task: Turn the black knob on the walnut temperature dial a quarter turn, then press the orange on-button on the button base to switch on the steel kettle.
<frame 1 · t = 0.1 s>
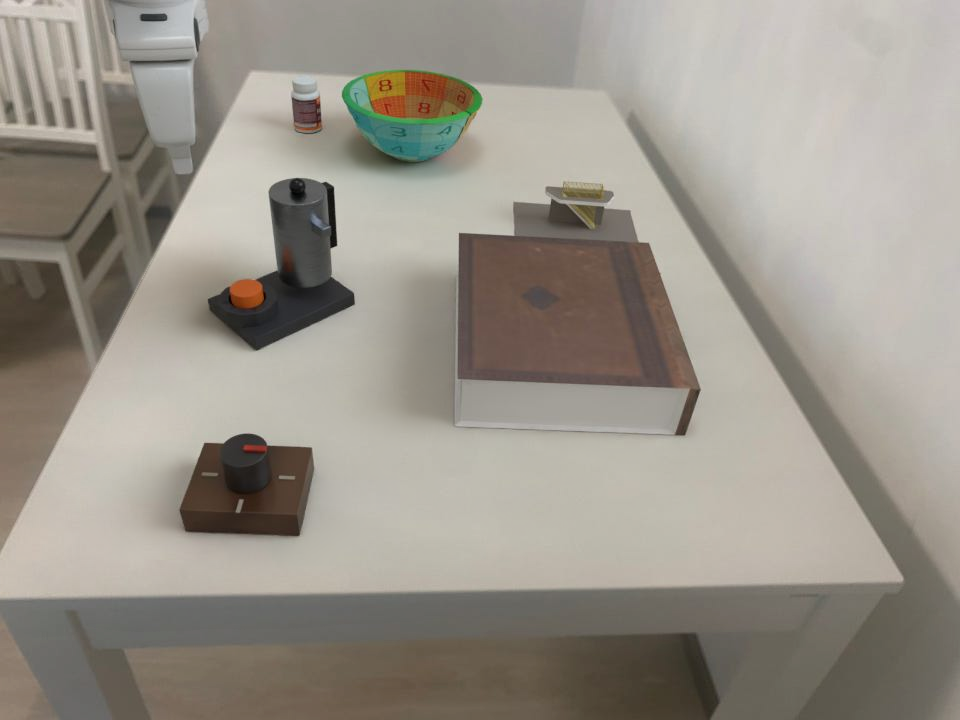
hand: (183, 150, 80), 20 cm above the table, tool pointing down, fingers open, 8 cm apart
button base: (283, 307, 93), on the table
kettle: (305, 273, 93), resting on button base
book: (557, 348, 91), on the table
orange button: (246, 294, 88), point 4 cm above the table, slide at 0.1 cm
platform: (574, 226, 114), on the table
pill bottle: (308, 129, 133), on the table
bowl: (411, 153, 129), on the table
dial panel: (252, 498, 71), on the table
dial knob: (245, 462, 68), point 5 cm above the table, hinge at 0.0°
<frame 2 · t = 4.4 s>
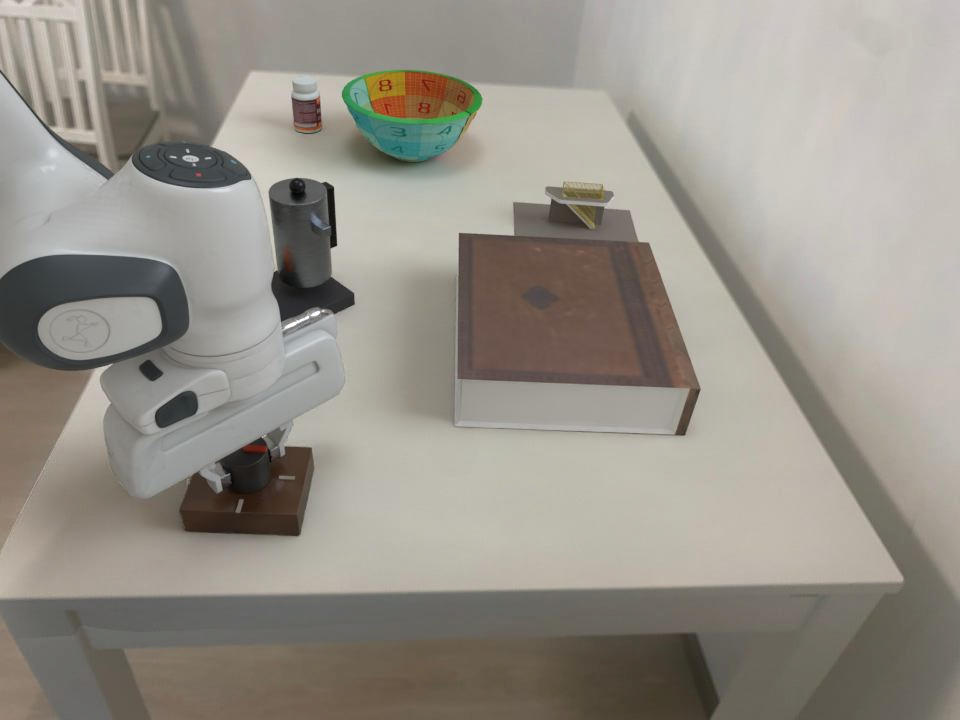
hand: (247, 470, 68), 4 cm above the table, tool pointing down, fingers closed on dial knob, 4 cm apart
dial knob: (245, 462, 68), point 5 cm above the table, hinge at 0.0°, touching gripper
everything else where it was.
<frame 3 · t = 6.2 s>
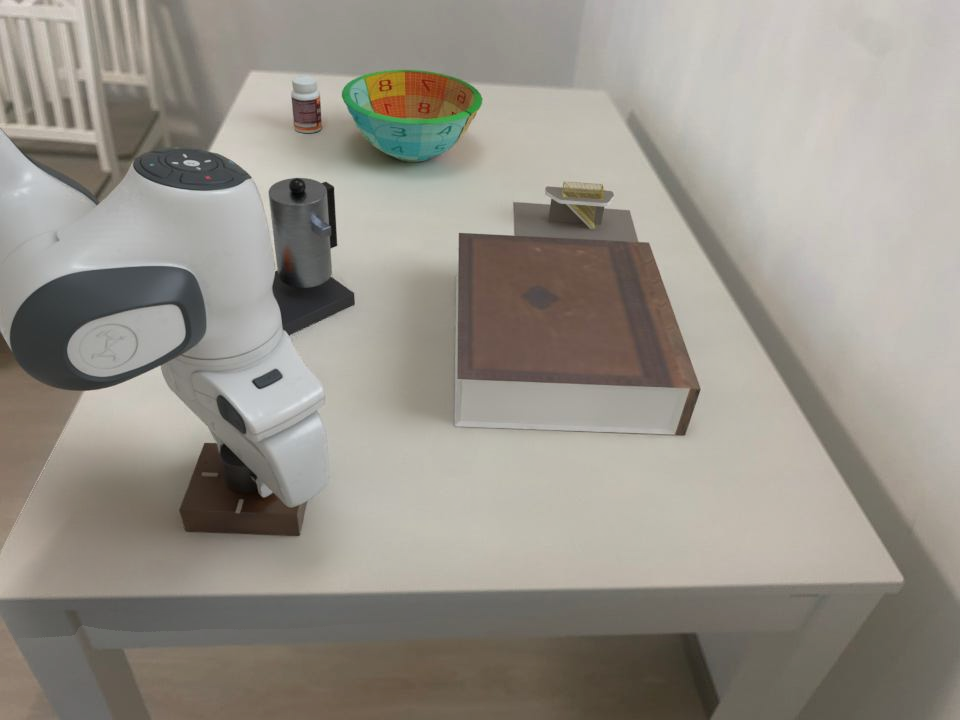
hand: (249, 472, 68), 4 cm above the table, tool pointing down, fingers closed on dial knob, 4 cm apart
dial knob: (245, 462, 68), point 5 cm above the table, hinge at 85.8°, touching gripper
everything else where it was.
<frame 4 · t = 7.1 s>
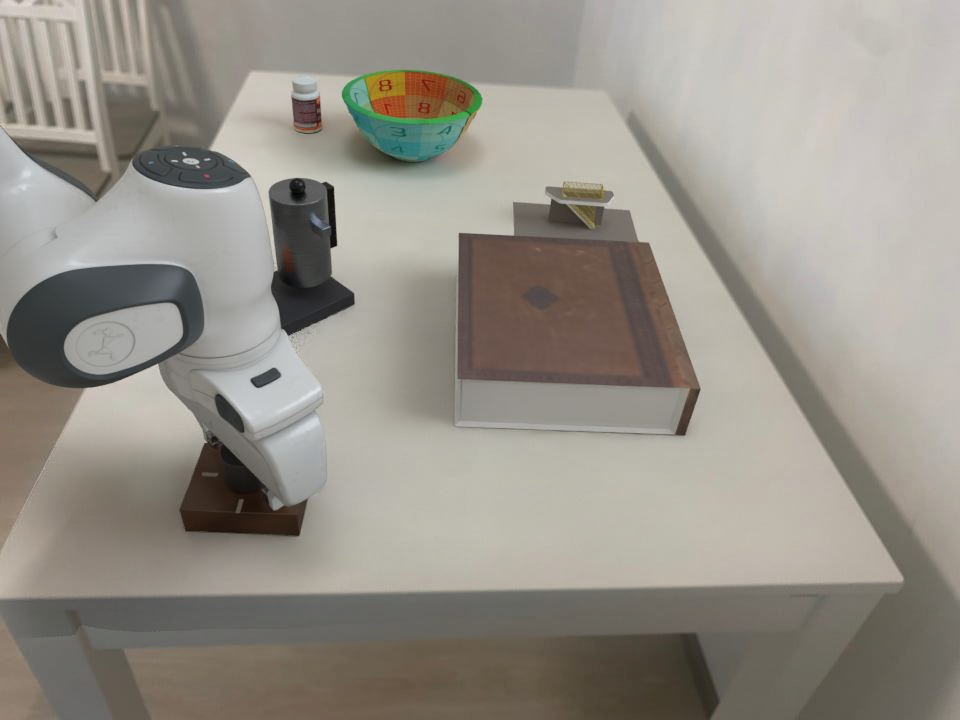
hand: (246, 471, 68), 4 cm above the table, tool pointing down, fingers open, 8 cm apart
dial knob: (245, 462, 68), point 5 cm above the table, hinge at 85.8°
everything else where it was.
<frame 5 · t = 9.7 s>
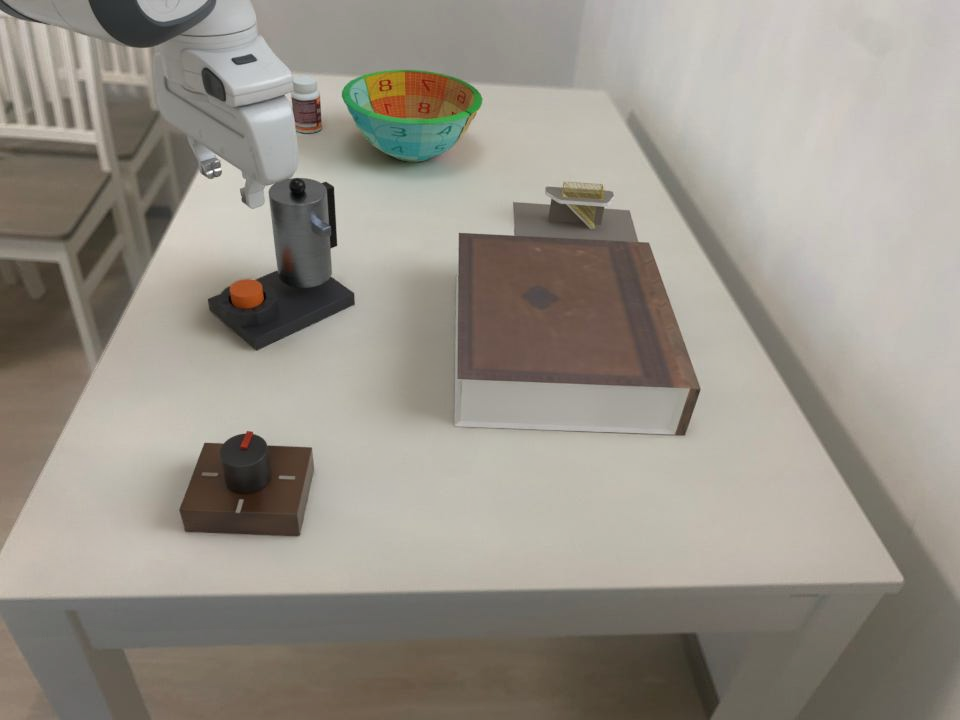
hand: (232, 189, 80), 17 cm above the table, tool pointing down, fingers open, 7 cm apart
nothing on the table moved.
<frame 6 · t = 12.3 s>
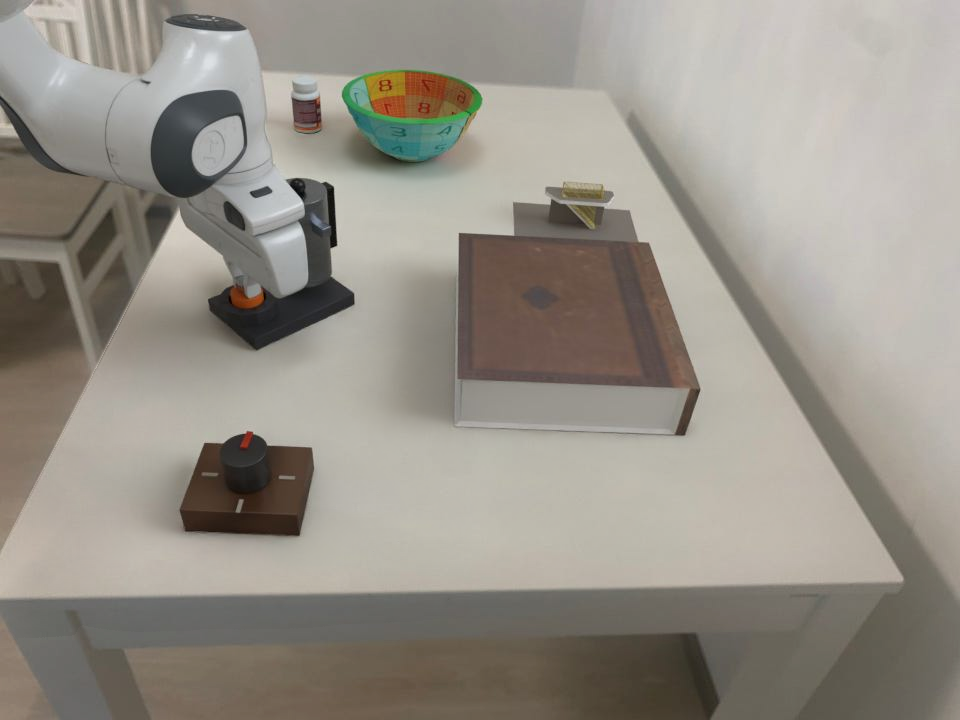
hand: (247, 291, 88), 4 cm above the table, tool pointing down, fingers closed, pressing on orange button
orange button: (247, 297, 89), point 4 cm above the table, slide at -0.4 cm, touching gripper
everything else where it was.
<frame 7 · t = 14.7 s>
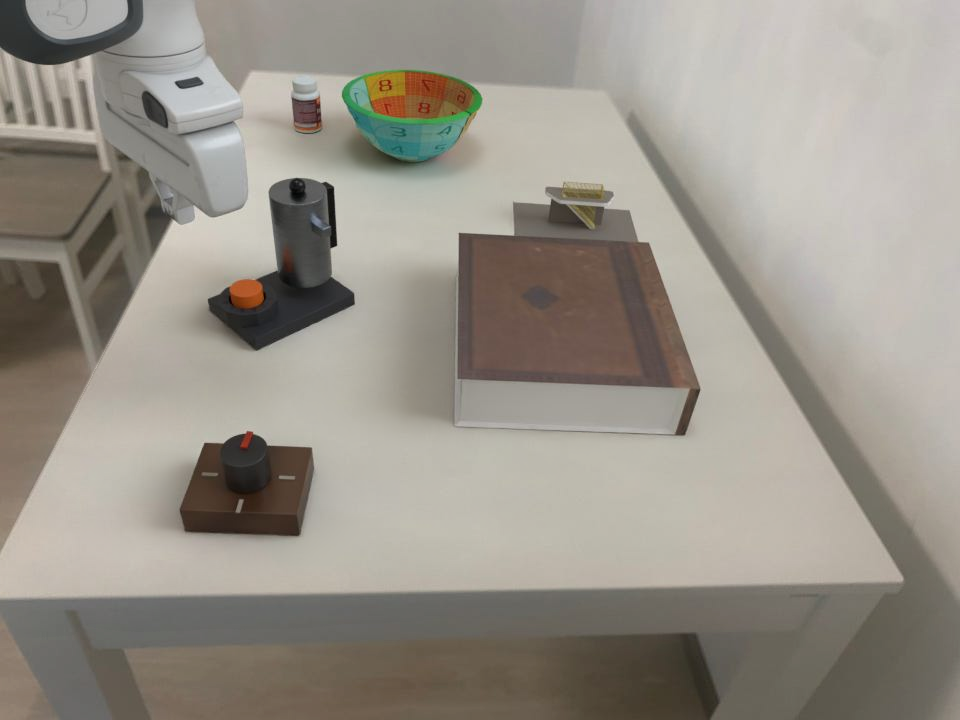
hand: (179, 217, 74), 17 cm above the table, tool pointing down, fingers closed
orange button: (246, 294, 88), point 4 cm above the table, slide at 0.1 cm
everything else where it was.
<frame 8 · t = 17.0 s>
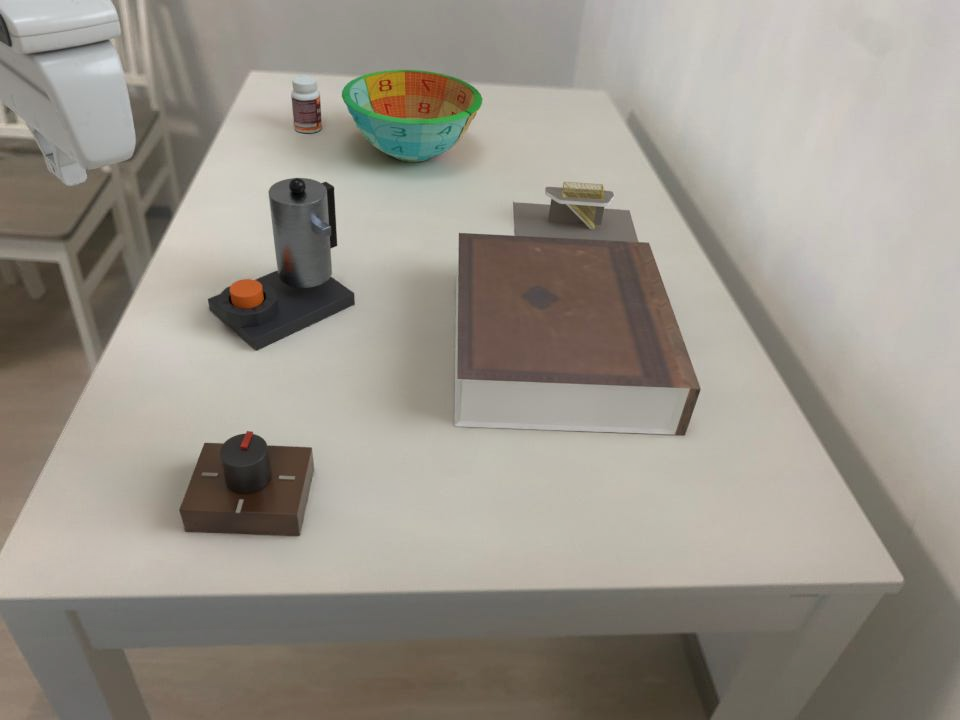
hand: (68, 177, 59), 27 cm above the table, tool pointing down, fingers closed
nothing on the table moved.
at the end: dial knob at +86° (first picture: +0°); orange button pushed in 1.1 cm at the most during the clip, back to where it started at the end; orange button slide at 0.1 cm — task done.
